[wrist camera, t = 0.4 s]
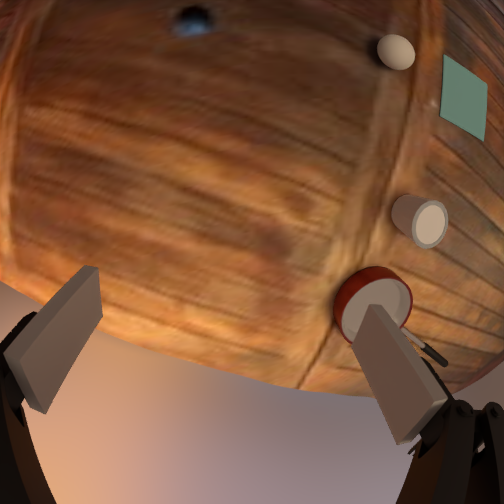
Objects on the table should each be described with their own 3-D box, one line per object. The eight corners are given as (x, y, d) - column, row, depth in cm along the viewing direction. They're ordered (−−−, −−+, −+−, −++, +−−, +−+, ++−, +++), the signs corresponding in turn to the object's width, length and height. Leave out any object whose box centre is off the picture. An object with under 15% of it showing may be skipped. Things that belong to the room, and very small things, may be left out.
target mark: (443, 54, 29) (443, 54, 29) (486, 84, 30) (487, 84, 30) (439, 116, 33) (440, 116, 33) (482, 141, 35) (483, 141, 34)
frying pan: (458, 317, 48) (474, 332, 42) (422, 362, 52) (434, 380, 46) (363, 251, 41) (381, 268, 35) (316, 317, 45) (326, 341, 39)
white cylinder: (392, 186, 38) (418, 195, 31) (426, 195, 38) (453, 205, 32) (383, 230, 40) (406, 246, 33) (416, 235, 41) (441, 251, 34)
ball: (372, 35, 29) (389, 23, 24) (403, 48, 29) (422, 40, 24) (369, 65, 31) (387, 56, 26) (401, 78, 31) (421, 72, 26)
